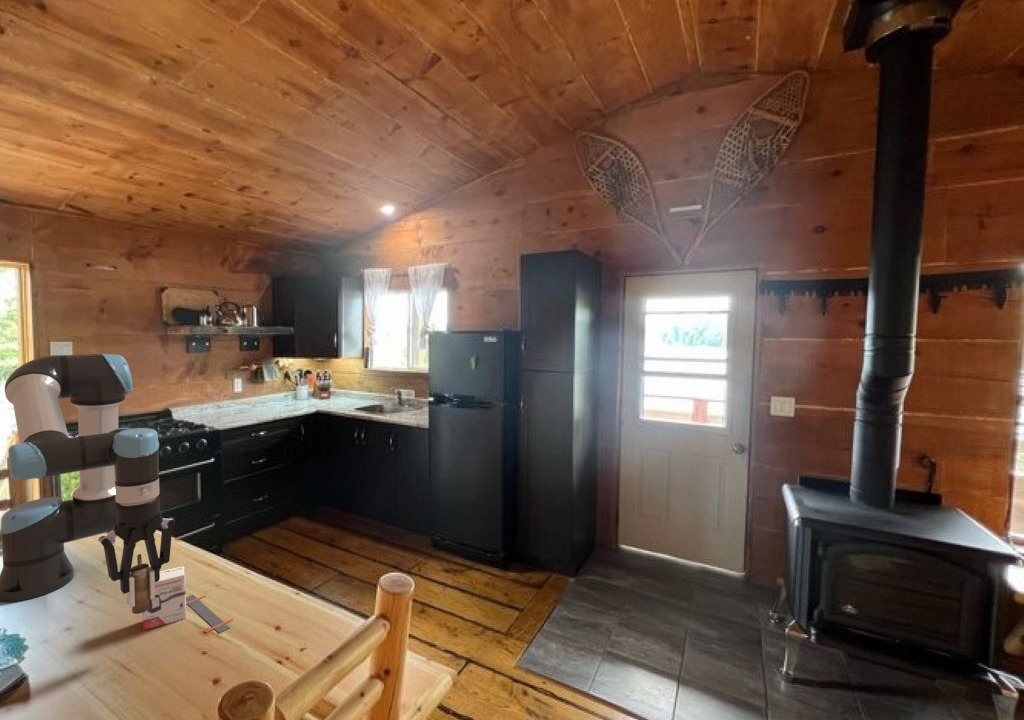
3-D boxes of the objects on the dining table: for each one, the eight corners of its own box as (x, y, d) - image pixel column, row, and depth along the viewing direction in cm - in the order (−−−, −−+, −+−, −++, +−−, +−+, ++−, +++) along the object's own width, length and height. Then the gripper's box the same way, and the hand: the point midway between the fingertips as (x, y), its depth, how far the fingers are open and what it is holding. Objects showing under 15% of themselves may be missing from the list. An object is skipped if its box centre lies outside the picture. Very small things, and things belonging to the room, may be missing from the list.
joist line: (174, 602, 120) (174, 602, 120) (200, 592, 125) (200, 591, 125) (210, 637, 108) (210, 636, 108) (237, 624, 112) (237, 623, 112)
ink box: (142, 631, 109) (141, 584, 108) (143, 620, 113) (142, 575, 112) (186, 618, 114) (185, 573, 113) (186, 608, 118) (184, 565, 117)
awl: (129, 610, 102) (128, 554, 101) (146, 603, 105) (145, 549, 103) (134, 615, 100) (132, 559, 99) (151, 608, 103) (150, 553, 102)
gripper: (94, 516, 91) (99, 626, 93) (187, 493, 104) (188, 590, 106) (84, 506, 96) (88, 611, 98) (174, 485, 109) (176, 578, 111)
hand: (141, 600), depth 102 cm, fingers closed on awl, 3 cm apart
